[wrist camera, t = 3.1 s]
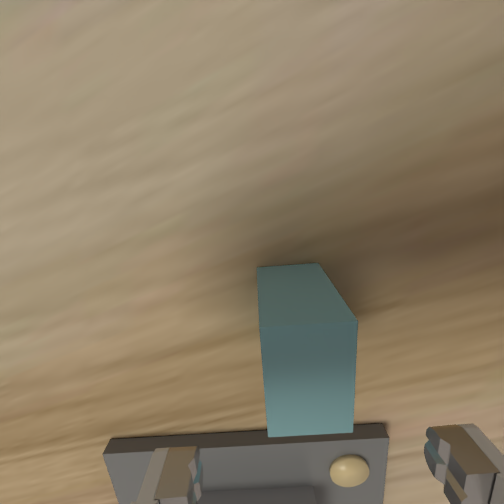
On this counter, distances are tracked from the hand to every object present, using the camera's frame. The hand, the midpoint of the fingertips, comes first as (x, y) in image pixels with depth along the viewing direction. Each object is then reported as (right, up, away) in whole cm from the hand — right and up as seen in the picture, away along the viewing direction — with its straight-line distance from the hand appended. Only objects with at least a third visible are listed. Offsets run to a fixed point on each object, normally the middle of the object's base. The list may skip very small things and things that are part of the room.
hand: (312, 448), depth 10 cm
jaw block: (0, +3, +9) cm, 10 cm away
